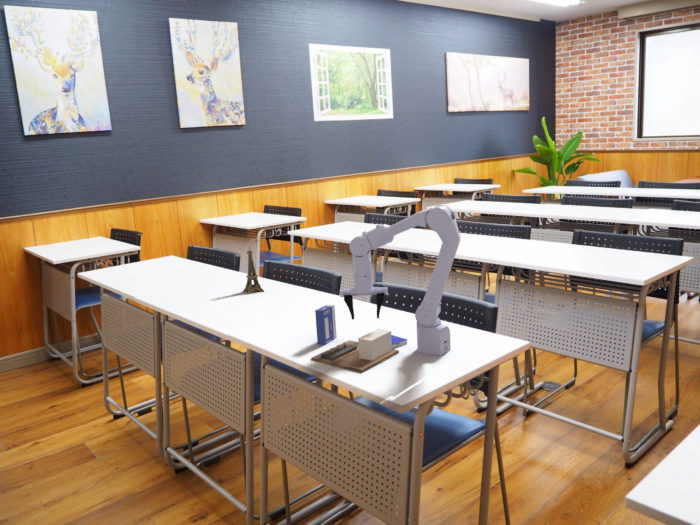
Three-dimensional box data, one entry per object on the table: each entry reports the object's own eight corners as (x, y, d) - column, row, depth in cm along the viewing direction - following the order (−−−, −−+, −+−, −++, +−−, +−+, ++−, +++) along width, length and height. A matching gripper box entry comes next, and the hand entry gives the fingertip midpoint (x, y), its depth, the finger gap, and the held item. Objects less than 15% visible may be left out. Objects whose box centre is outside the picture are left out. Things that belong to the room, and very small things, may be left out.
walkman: (325, 346, 180) (322, 309, 178) (317, 345, 181) (314, 309, 179) (337, 339, 187) (335, 303, 185) (330, 338, 188) (327, 302, 186)
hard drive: (361, 337, 182) (388, 345, 173) (379, 330, 187) (407, 338, 178) (361, 341, 183) (388, 350, 173) (379, 335, 188) (407, 343, 178)
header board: (398, 352, 171) (398, 342, 170) (362, 372, 157) (361, 361, 156) (349, 342, 182) (348, 332, 182) (311, 360, 169) (310, 349, 168)
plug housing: (391, 350, 171) (391, 331, 170) (372, 360, 163) (371, 340, 162) (379, 347, 174) (378, 328, 172) (359, 357, 166) (358, 338, 165)
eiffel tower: (260, 293, 257) (255, 238, 252) (270, 298, 248) (264, 241, 243) (238, 297, 251) (232, 241, 247) (246, 302, 242) (241, 244, 238)
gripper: (386, 270, 177) (388, 313, 179) (339, 273, 178) (342, 315, 180) (386, 275, 170) (389, 319, 173) (338, 278, 171) (341, 322, 173)
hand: (365, 318), depth 176 cm, fingers open, 7 cm apart
